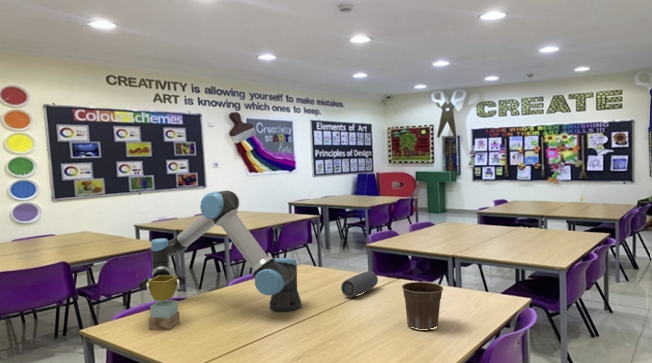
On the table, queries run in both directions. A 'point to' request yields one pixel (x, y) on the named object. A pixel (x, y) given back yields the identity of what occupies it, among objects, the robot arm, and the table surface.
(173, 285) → the flower pot
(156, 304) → the tower top
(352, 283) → the bluetooth speaker
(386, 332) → the table surface
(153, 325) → the tower base
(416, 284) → the plant pot
